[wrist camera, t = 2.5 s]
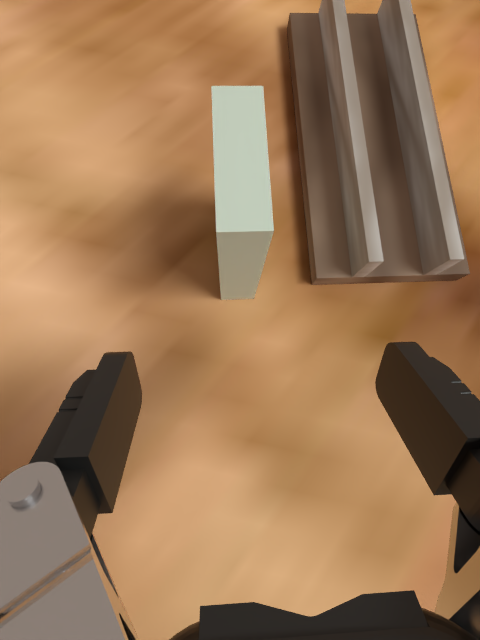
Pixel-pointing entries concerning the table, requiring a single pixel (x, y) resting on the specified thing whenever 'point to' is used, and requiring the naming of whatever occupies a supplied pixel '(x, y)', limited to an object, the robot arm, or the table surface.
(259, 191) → the door panel
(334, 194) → the board
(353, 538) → the table surface
